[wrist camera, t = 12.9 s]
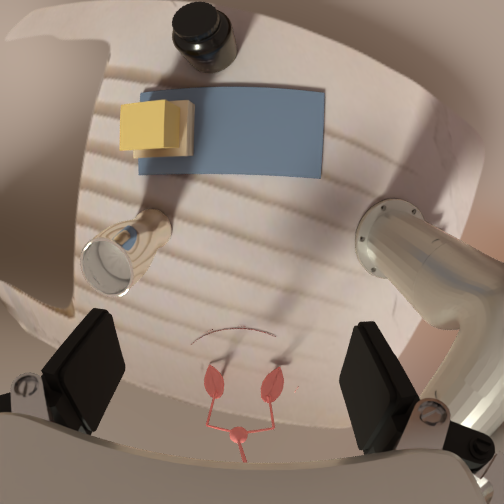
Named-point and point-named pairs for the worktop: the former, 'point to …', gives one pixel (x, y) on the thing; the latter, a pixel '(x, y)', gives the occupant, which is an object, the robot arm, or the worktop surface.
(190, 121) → the beech base block
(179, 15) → the supplement bottle
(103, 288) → the beer glass
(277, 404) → the worktop surface
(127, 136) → the mustard block
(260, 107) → the board
